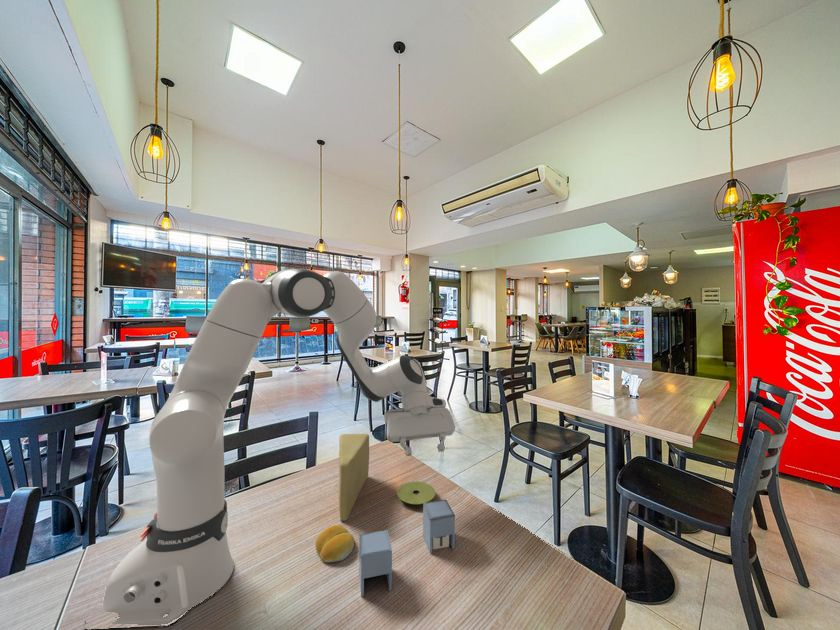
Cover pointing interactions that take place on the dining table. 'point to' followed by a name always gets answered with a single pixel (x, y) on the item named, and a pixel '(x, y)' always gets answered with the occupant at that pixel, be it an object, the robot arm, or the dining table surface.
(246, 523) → the dining table surface
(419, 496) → the mat
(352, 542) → the bread roll
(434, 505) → the grey stool
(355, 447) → the cheese
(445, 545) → the letter cube
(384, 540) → the gray notched block
